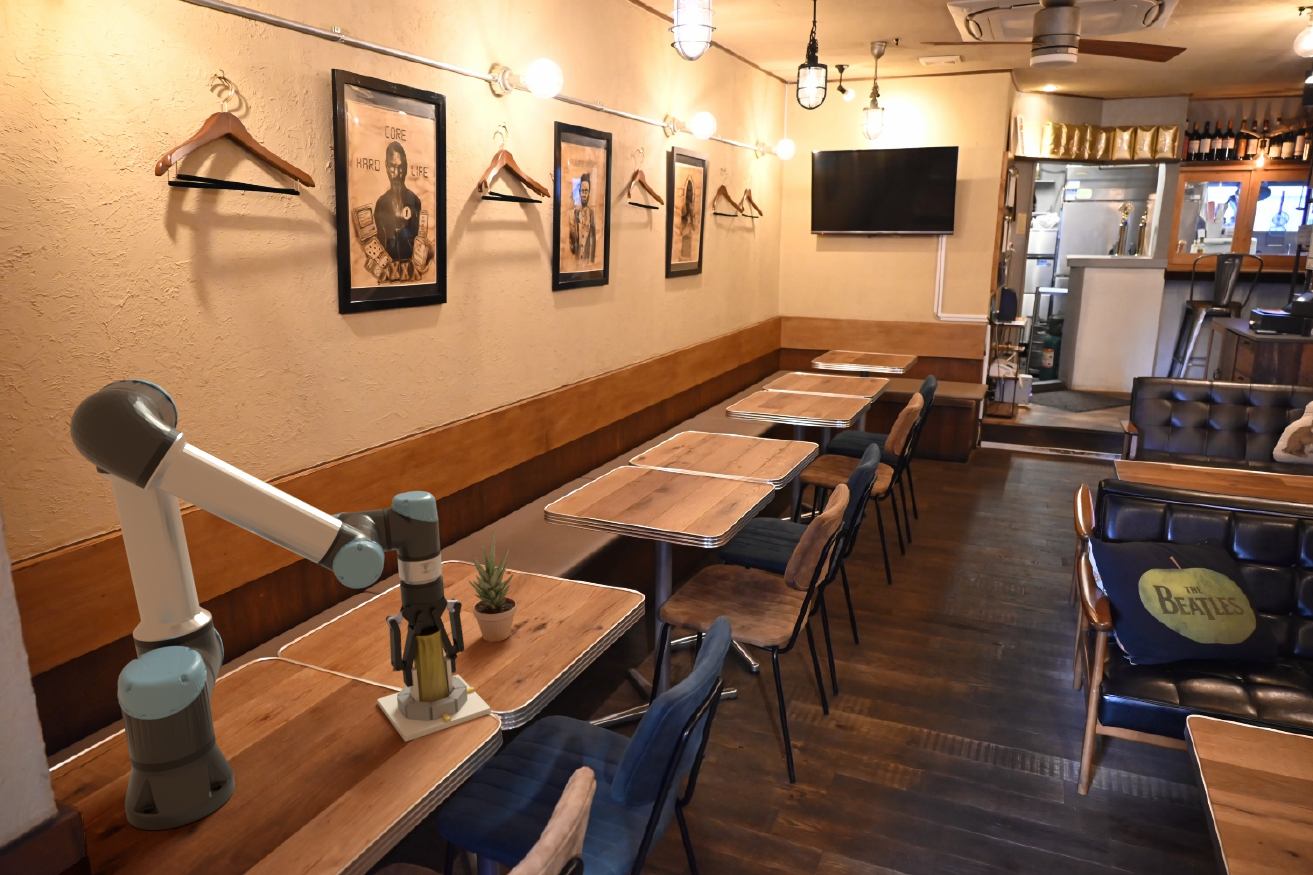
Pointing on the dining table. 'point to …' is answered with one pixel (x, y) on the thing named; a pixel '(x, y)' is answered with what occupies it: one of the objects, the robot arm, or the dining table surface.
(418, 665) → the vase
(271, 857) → the dining table surface
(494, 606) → the potted plant
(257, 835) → the dining table surface
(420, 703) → the socket
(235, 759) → the dining table surface
